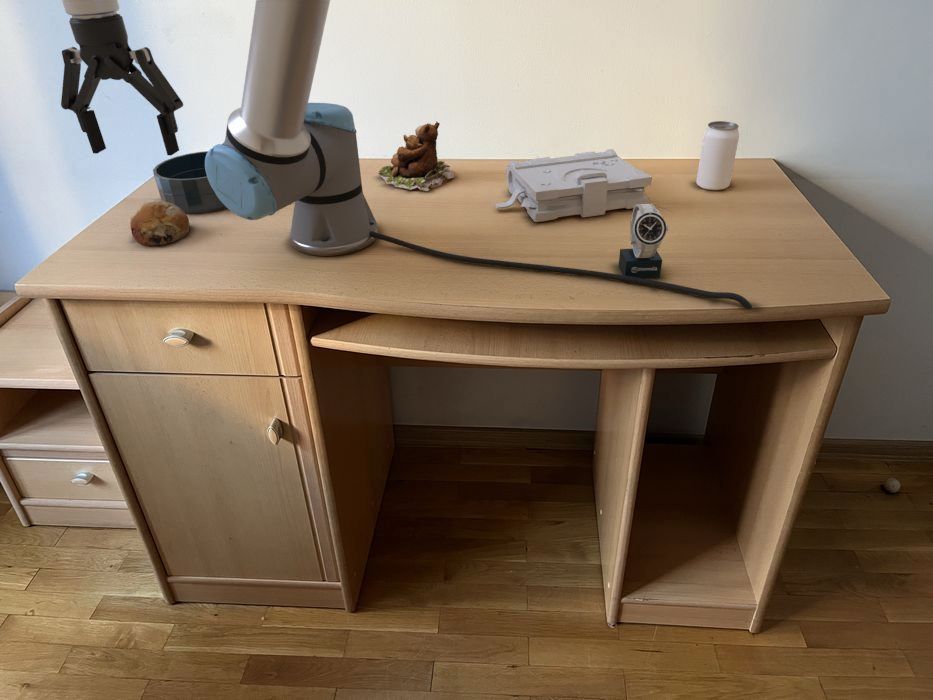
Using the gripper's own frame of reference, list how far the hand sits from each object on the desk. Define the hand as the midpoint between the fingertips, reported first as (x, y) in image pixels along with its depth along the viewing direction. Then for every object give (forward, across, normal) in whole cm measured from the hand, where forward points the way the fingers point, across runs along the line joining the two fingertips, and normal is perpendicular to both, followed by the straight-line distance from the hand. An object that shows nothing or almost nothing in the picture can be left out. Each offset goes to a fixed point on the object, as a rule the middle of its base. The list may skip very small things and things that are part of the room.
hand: (136, 152), depth 115 cm
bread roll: (+16, 0, 0) cm, 16 cm away
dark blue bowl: (+16, 0, -18) cm, 24 cm away
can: (+15, -103, -32) cm, 108 cm away
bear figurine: (+16, -42, -32) cm, 55 cm away
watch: (+15, -85, +8) cm, 87 cm away
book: (+15, -73, -21) cm, 78 cm away
